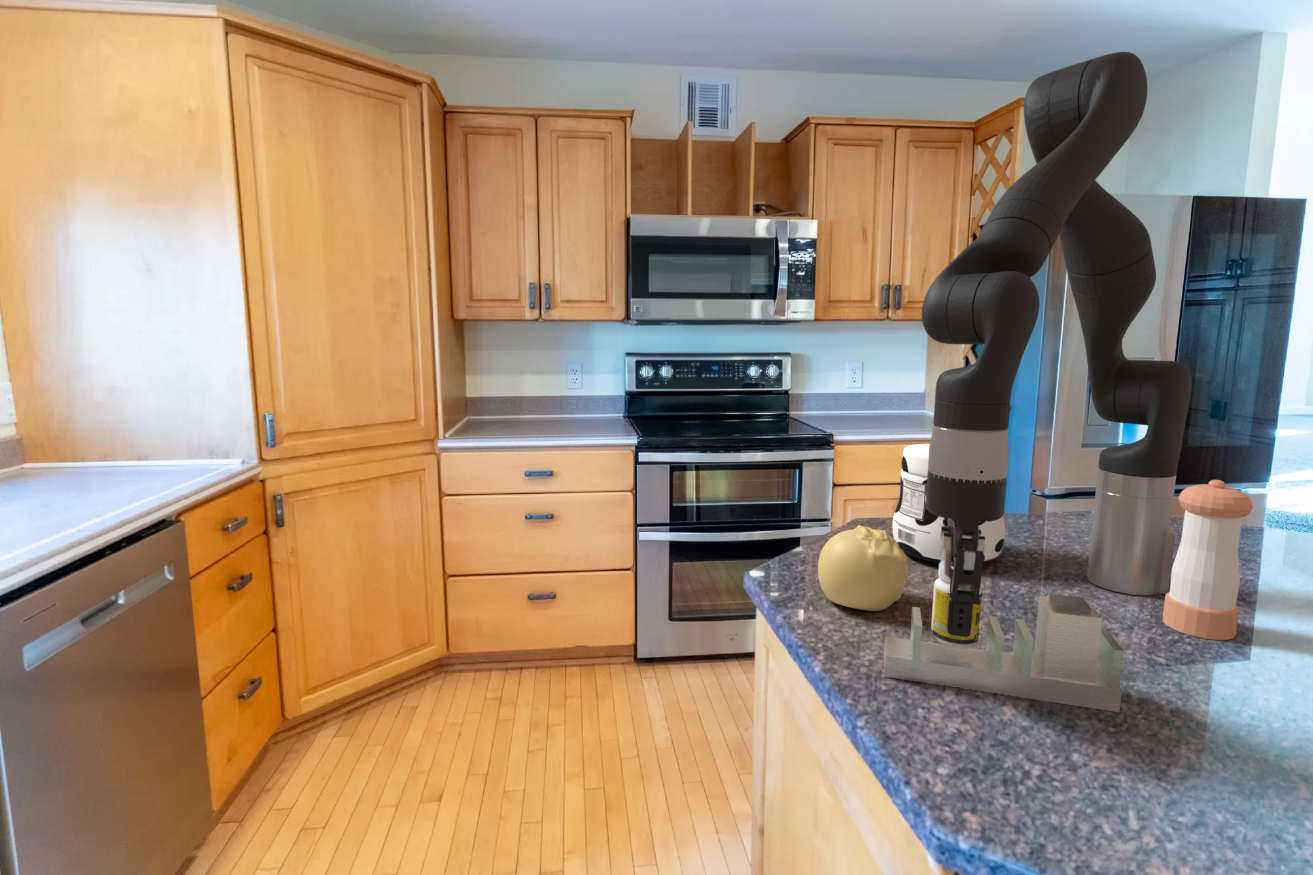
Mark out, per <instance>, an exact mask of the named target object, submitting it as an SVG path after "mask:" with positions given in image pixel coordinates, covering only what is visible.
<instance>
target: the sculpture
mask: <svg viewBox="0 0 1313 875" xmlns="http://www.w3.org/2000/svg"><path fill="white" fill-rule="evenodd" d="M907 562H908V556H907V554H905V552H904V551H903V550H902V549H900V548H899V545H898V543H897V542H896V540H895V539H894V537H892V536H890V535H888V531H887V530H884V529H883V530H882V529H874V528H872V527H868V526H863V525H862V524H861V525H860V524H858V525H857V526H856V527H855V528H853V529H848V530H843V531H841V532H838V533H837V534H835V535H833V536H832V537H831V538H829V539H828V540H827V541H826V543H825V544H824V546H823V548H822V549H821V551H820V554H819V558H818V564H817V574H818V581H819V584H820V587H821V589H822V591H823V593H824V595H825V596H826V598H827V599H828V600H830V601H831V602H833V603H835V604H837V605H840V606H842V607H843V606H844V607H846V608H847V607H848V608H852V609H857V610H863V611H870V612H880V611H883V610H886V609H888V608H889V607H890V606H891V605H892V604H894V602H896V601H898V600H900V598H901V596H902V595H903V591H904V586H905V585H906V584H907V579H908V574H909V564H908V563H907Z"/></svg>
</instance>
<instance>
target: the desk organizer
mask: <svg viewBox="0 0 1313 875" xmlns="http://www.w3.org/2000/svg"><path fill="white" fill-rule="evenodd" d="M1037 606H1038V608H1037V616H1036V617H1037V618H1036V626H1035V627H1036V628H1035V639H1034V638H1033V636H1032V634H1031V632H1030V630H1029V628H1028V626H1027V624H1026V621H1025V619H1020V618H1019V619H1017V618H1015V621H1014V630H1013V631H1014V634H1013V643H1012V644H1013V645H1012V652H1005V651H1004V641H1005V635H1004V633H1003V630H1002V627H1001V625H1000V623H999V621H998V617H997V616H994V615H987V625H986V635H985V636H986V637H985V638H986V639H985V648H984V649H981V648H975V647H972V648H966V649H961V648H952V647H948V646H945V645H942V644H940V643H938V642H929V641H922V638H923V620H922V612H921V608H920V607H919V606H911V623H910V635H909V636H910V639H909V638H908V639H907V638H900V637H894V636H885V638H884V655H883V656H884V659H883V663H884V664H883V666H884V677H885V678H890V679H891V678H892V679H897V680H903V681H904V680H905V681H911V682H917V683H923V684H930V685H936V686H937V685H938V686H944V685H945V687H949V686H950V688H956V687H960V688H959V689H962V688H963V690H969V689H972V690H971V691H975V690H977V691H976V692H982V691H983V693H989V694H995V693H997V695H1002V694H1003V695H1004V696H1008V695H1009V696H1010V697H1017V698H1023V699H1029V700H1036V701H1042V702H1049V703H1055V704H1063V705H1070V706H1076V707H1082V708H1089V709H1095V710H1100V711H1108V712H1114V713H1115V712H1116V713H1120V710H1121V709H1120V708H1121V700H1122V694H1123V693H1122V692H1123V690H1122V687H1121V680H1122V672H1123V663H1124V654H1125V651H1124V650H1123V647H1121V646H1120V645H1119V642H1117V641H1116V639H1115V638H1114V636H1113V635H1112V634H1111V632H1110V631H1109V630H1108V629H1104V628H1102V624H1103V617H1102V616H1101V615H1100V614H1099V612H1098V611H1097V610H1096V608H1095V607H1094V606H1093V604H1092V603H1091V602H1090V601H1089V600H1085V599H1084V597H1081V596H1073V595H1063V594H1055V593H1054V594H1053V593H1049V596H1041V595H1039V596H1038V605H1037ZM1003 695H1002V696H1003Z"/></svg>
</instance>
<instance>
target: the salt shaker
mask: <svg viewBox="0 0 1313 875" xmlns="http://www.w3.org/2000/svg"><path fill="white" fill-rule="evenodd" d="M1178 502H1179V505H1180V507H1181V508H1182V509H1183V510H1185V511H1184V515H1183V524H1182V531H1181V540H1180V543H1179V546H1178V550H1177V552H1176V556H1175V559H1174V561H1173V563H1172V567H1171V575H1170V583H1169V591H1168V593H1167V594H1164V595H1165V596H1164V604H1163V611H1162V612H1163V614H1162V622H1163V624H1164V625H1166V626H1167V627H1169V628H1171V629H1172V630H1175V631H1177V632H1179V633H1181V634H1186V635H1189V636H1193V637H1195V638H1196V637H1197V638H1201V639H1207V640H1217V641H1227V640H1232V639H1234V638H1235V637H1236V635H1237V631H1238V630H1237V629H1238V624H1239V623H1238V622H1239V618H1240V617H1239V616H1240V610H1239V607H1238V605H1237V600H1238V595H1239V588H1240V583H1241V580H1240V579H1241V578H1240V564H1239V561H1240V560H1239V545H1240V537H1241V530H1242V529H1241V528H1242V523H1243V522H1242V520H1243V518H1245V517H1247V516H1249V514H1250V513H1251V512H1252V510H1253V508H1254V507H1253V502H1252V500H1251V499H1250V497H1249V495H1248V494H1247V493H1245V492H1243V491H1242V490H1239V489H1236V488H1234V487H1230V486H1226V483H1225V481H1222V480H1220V479H1211V480H1210V481H1209V482H1208V484H1205V483H1203V484H1194V485H1190V486H1188V487H1185V488H1184V489H1183V490H1182V491H1181V492H1180V494H1179V496H1178Z"/></svg>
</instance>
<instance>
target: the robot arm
mask: <svg viewBox="0 0 1313 875" xmlns="http://www.w3.org/2000/svg"><path fill="white" fill-rule="evenodd" d="M1147 80H1148V78H1147V72H1146V70H1145V67H1144V64H1143V62H1142V60H1141V59H1140V58H1139V57H1138V55H1136V54H1135V53H1132V52H1130V51H1118V52H1112V53H1108V54H1104V55H1100V56H1097V57H1095V58H1094V57H1093V58H1091V59H1088V60H1084V61H1082V62H1078V63H1076V64H1075V63H1074V64H1072V65H1069V66H1066V67H1062V68H1060V69H1056V70H1054V71H1051V72H1048V73H1044V74H1043V75H1041V76H1039V77H1036V78H1035V80H1032V82H1031V83H1030V85H1029V86H1028V88H1027V91H1026V93H1025V96H1024V102H1023V119H1024V126H1025V132H1026V135H1027V140H1028V143H1029V146H1030V149H1031V152H1032V156H1033V157H1034V158H1033V159H1034V161H1035V164H1034V166H1032V167H1031V168H1030V169H1028V170H1027V171H1026V172H1025V173H1024V174H1023V175H1021V176H1020V177H1019V178H1018V179H1017V180H1015V182H1013V183H1012V184H1011V185H1010V186H1009V187H1008V188H1007V190H1006V191H1005V192H1004V193H1003V195H1001V197H1000V198H999V199H998V201H997V202H996V204H995V206H994V207H993V209H992V211H991V213H990V214H989V216H988V217H987V219H986V220H985V223H984V225H983V227H981V229H980V232H979V233H978V236H977V237H976V238H975V240H973V241H972V242H971V243H970V244H968V245H967V246H966V247H965V248H964V249H962V251H961V252H960V253H959V254H958V255H957V256H956V257H955V258H954V259H953V260H952V261H951V262H949V264H948V265H947V266H945V268H944V269H943V270H942V271H941V272H940V273H939V274H938V275H937V276H936V277H935V279H934V280H933V281H932V283H931V284H930V286H929V287H928V289H927V291H926V293H925V296H924V299H923V302H922V308H921V320H922V326H923V329H924V330H925V333H926V334H927V336H929V337H930V338H931V340H934V341H935V342H938V343H940V344H945V345H983V348H982V350H981V352H980V354H979V356H978V357H977V359H976V361H975V362H974V363H973V364H971V365H968V366H961V367H958V368H957V367H956V368H950V369H947V370H945V371H943V372H942V373H940V374H939V376H938V378H937V380H936V385H935V395H934V411H933V426H932V433H931V437H930V442H929V444H930V446H929V460H928V475H927V491H926V508H927V510H928V511H929V512H930V513H932V514H934V515H936V516H939V517H942V518H944V520H943V524H944V526H941V530H940V539H941V552H940V557H941V562H942V561H944V575H945V576H946V577H948V578H949V592H947V597H948V598H949V605H948V620H947V630H948V633H949V634H950V635H954V636H962V637H968V636H970V634H971V623H972V610H973V604H978V601H979V600H980V596H979V592H980V586H981V582H982V577H983V576H982V575H983V568H984V564H983V561H984V560H985V555H984V553H983V552H984V550H985V537H984V536H981V529H979V527H978V526H979V524H980V523H982V522H984V521H988V522H990V521H995V520H998V519H1000V518H1001V517H1002V516H1003V517H1004V515H1005V506H1006V496H1007V495H1006V494H1007V493H1006V492H1007V481H1008V473H1009V472H1008V471H1009V469H1008V468H1009V460H1010V459H1009V457H1010V445H1009V425H1010V424H1009V423H1010V412H1011V399H1012V392H1013V391H1012V389H1013V385H1014V382H1015V379H1016V376H1017V374H1018V370H1019V368H1020V365H1021V362H1022V359H1023V356H1024V354H1025V351H1026V348H1027V346H1028V343H1029V342H1030V341H1029V340H1030V338H1031V336H1032V333H1033V332H1034V329H1035V328H1036V324H1037V320H1038V317H1039V313H1040V312H1039V311H1040V296H1039V292H1038V288H1037V287H1036V285H1035V283H1034V281H1033V280H1032V279H1031V278H1032V277H1033V276H1035V275H1036V274H1037V273H1038V272H1039V271H1040V270H1041V269H1042V267H1043V265H1044V264H1045V262H1046V260H1047V259H1048V256H1049V255H1050V253H1051V251H1052V249H1053V247H1054V245H1055V243H1056V241H1057V239H1058V237H1059V240H1060V243H1061V249H1062V254H1063V258H1064V265H1065V268H1066V273H1067V277H1068V282H1069V286H1070V289H1071V292H1072V293H1071V294H1072V297H1073V299H1074V303H1075V307H1076V310H1077V314H1078V319H1079V323H1080V328H1081V331H1082V336H1083V341H1084V347H1085V354H1086V355H1085V356H1086V363H1087V372H1088V379H1089V380H1088V381H1089V388H1090V394H1091V400H1092V404H1093V407H1094V409H1095V411H1096V413H1097V415H1098V416H1099V417H1100V418H1101V419H1103V420H1104V421H1108V422H1112V423H1118V424H1129V425H1139V426H1147V429H1146V432H1145V435H1144V437H1142V438H1141V439H1139V440H1136V441H1134V442H1130V443H1126V444H1121V445H1116V446H1114V445H1113V446H1109V447H1106V448H1104V449H1102V450H1101V451H1100V453H1099V458H1098V468H1097V475H1096V476H1097V477H1096V488H1095V496H1094V506H1093V516H1092V524H1091V526H1092V527H1091V534H1090V544H1089V554H1088V555H1089V556H1088V562H1087V574H1086V575H1087V576H1086V578H1087V581H1089V582H1090V583H1092V584H1094V585H1096V586H1098V587H1100V588H1103V589H1106V590H1109V591H1112V592H1118V593H1122V594H1128V595H1134V596H1136V595H1137V596H1155V595H1166V594H1167V593H1168V592H1170V584H1171V572H1172V567H1173V560H1174V557H1173V556H1174V549H1175V542H1176V541H1175V540H1176V529H1174V528H1173V527H1171V521H1172V514H1173V506H1174V497H1175V488H1176V481H1177V480H1176V479H1177V471H1178V466H1179V461H1180V457H1181V456H1180V455H1181V451H1182V448H1183V447H1182V446H1183V438H1184V431H1185V426H1186V421H1187V415H1188V411H1189V405H1190V401H1191V394H1192V384H1193V383H1192V374H1191V371H1190V369H1189V367H1188V366H1187V365H1186V364H1185V363H1184V362H1181V361H1175V360H1153V359H1152V360H1150V359H1128V358H1127V357H1126V356H1125V354H1124V351H1123V339H1124V338H1125V335H1126V333H1127V330H1128V329H1129V328H1130V326H1131V324H1132V322H1133V321H1134V320H1135V318H1136V317H1137V316H1138V314H1139V313H1140V311H1141V310H1142V309H1143V308H1144V306H1145V304H1146V303H1147V301H1148V300H1149V297H1150V296H1151V294H1152V293H1153V290H1154V288H1155V286H1156V281H1157V270H1156V263H1155V258H1154V251H1153V247H1152V241H1151V236H1150V233H1149V231H1148V229H1147V227H1146V226H1145V224H1144V223H1143V222H1142V220H1141V219H1140V218H1138V217H1137V215H1135V214H1134V213H1133V212H1132V211H1131V210H1130V209H1129V208H1128V207H1126V206H1125V204H1123V203H1122V202H1121V201H1119V200H1118V199H1116V198H1115V197H1114V196H1113V195H1112V194H1111V193H1110V192H1108V191H1107V190H1106V189H1105V188H1104V187H1103V186H1102V185H1100V183H1099V182H1098V181H1097V179H1098V178H1099V176H1100V175H1101V174H1102V173H1103V171H1105V169H1106V167H1107V166H1108V165H1109V164H1110V162H1111V161H1113V159H1114V157H1115V156H1116V155H1117V154H1118V152H1119V151H1120V150H1121V149H1122V148H1123V146H1124V145H1125V143H1127V141H1128V140H1129V139H1130V137H1131V136H1132V135H1133V134H1134V132H1135V130H1136V128H1137V127H1138V125H1139V123H1140V121H1141V119H1142V117H1143V114H1144V111H1145V108H1146V104H1147V99H1148V81H1147ZM951 566H953V569H952V568H951ZM959 584H969V591H965V590H958V585H959Z"/></svg>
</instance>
